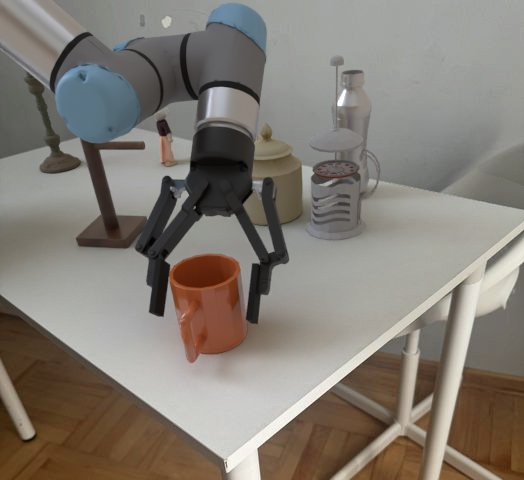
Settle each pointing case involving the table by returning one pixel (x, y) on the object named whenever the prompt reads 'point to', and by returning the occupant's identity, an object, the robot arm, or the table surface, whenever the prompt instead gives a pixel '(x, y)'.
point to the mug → (209, 303)
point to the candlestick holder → (50, 133)
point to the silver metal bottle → (353, 120)
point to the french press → (337, 182)
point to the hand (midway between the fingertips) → (203, 318)
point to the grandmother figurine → (164, 138)
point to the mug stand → (108, 202)
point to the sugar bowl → (276, 178)
